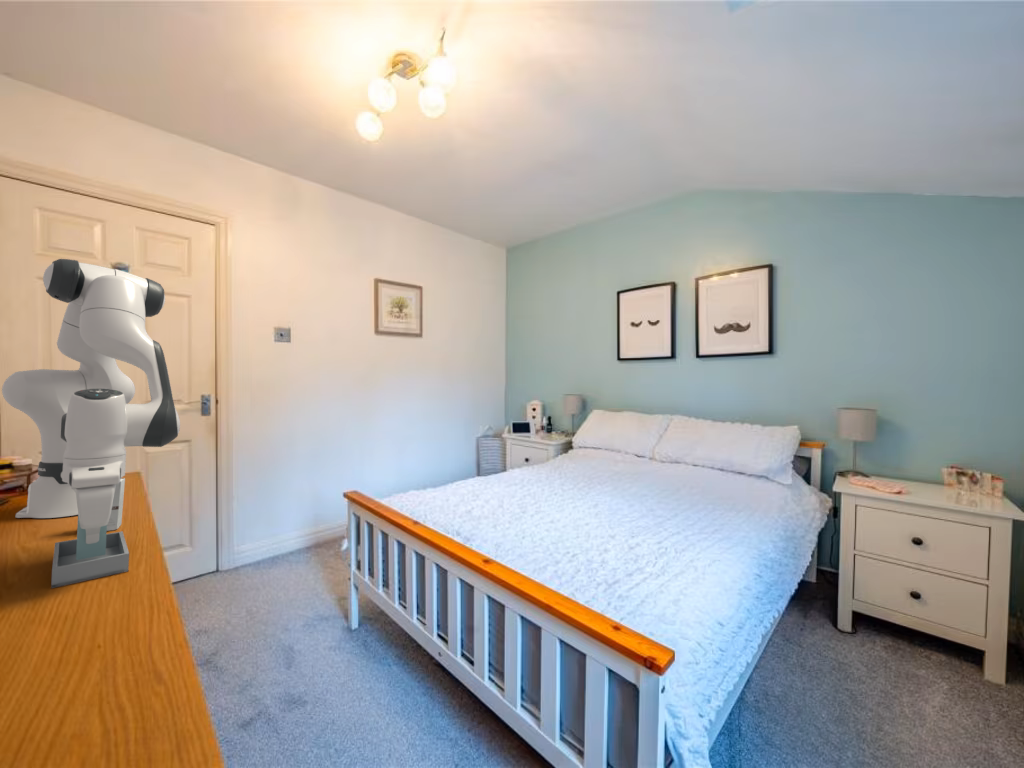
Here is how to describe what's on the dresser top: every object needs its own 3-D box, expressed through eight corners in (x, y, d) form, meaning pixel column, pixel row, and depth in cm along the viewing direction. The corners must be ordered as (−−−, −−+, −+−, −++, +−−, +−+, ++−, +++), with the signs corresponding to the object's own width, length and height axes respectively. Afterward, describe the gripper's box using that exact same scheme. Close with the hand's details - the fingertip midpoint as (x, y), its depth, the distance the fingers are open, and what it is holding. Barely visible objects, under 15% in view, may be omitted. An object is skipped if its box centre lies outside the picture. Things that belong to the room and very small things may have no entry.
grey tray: (54, 559, 83) (55, 542, 83) (121, 546, 90) (122, 531, 90) (51, 588, 72) (52, 568, 72) (128, 571, 79) (129, 553, 79)
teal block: (76, 553, 81) (78, 514, 81) (104, 548, 84) (106, 510, 84) (76, 560, 78) (78, 519, 78) (105, 554, 81) (107, 514, 81)
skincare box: (83, 534, 96) (85, 483, 97) (89, 528, 100) (91, 479, 100) (118, 529, 100) (120, 481, 100) (123, 524, 104) (125, 477, 104)
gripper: (72, 463, 86) (69, 528, 86) (71, 481, 72) (67, 558, 72) (113, 460, 91) (110, 521, 91) (120, 476, 77) (117, 549, 77)
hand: (91, 538), depth 81 cm, fingers closed on teal block, 4 cm apart
